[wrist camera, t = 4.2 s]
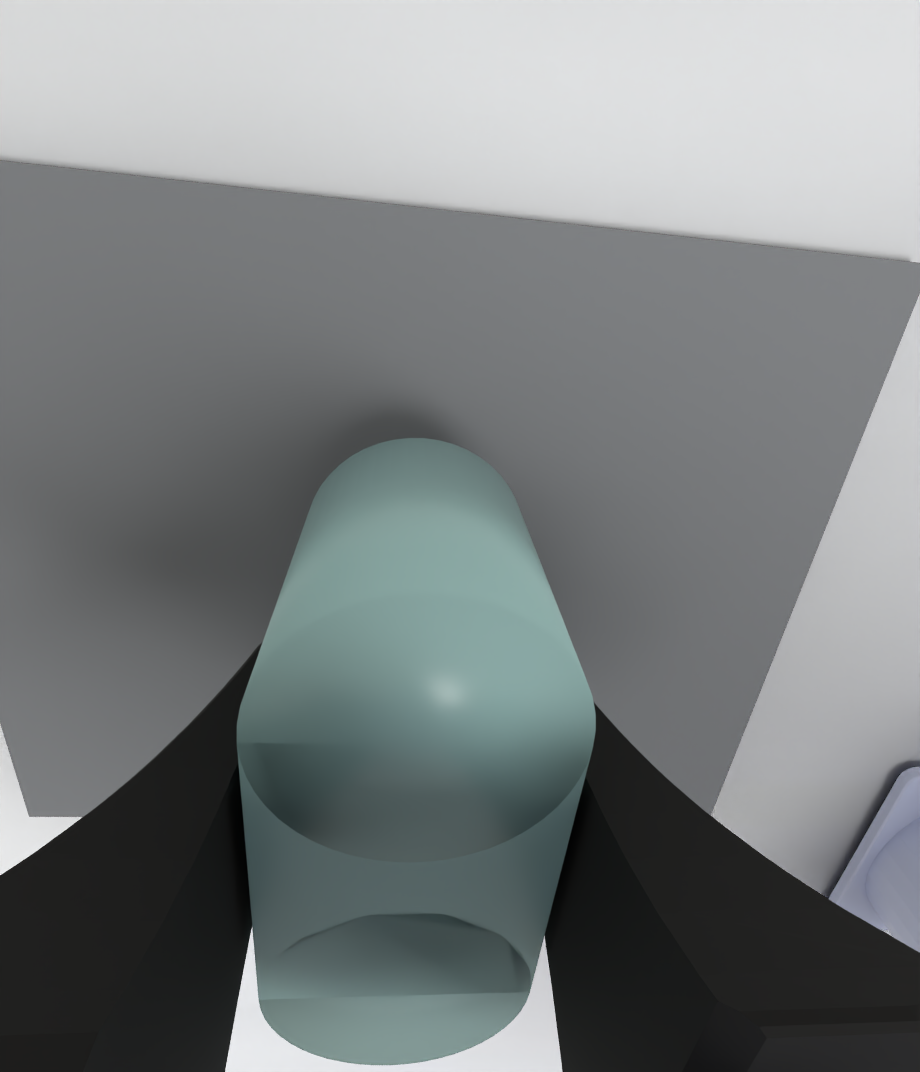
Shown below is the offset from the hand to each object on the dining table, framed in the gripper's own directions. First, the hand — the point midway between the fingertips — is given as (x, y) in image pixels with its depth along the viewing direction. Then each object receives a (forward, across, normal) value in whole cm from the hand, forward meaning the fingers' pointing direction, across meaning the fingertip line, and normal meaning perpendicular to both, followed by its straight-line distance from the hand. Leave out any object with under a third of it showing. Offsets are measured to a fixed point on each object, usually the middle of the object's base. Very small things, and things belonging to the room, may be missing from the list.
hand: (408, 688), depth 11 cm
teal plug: (+1, 0, +1) cm, 2 cm away
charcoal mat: (+4, 0, 0) cm, 4 cm away
